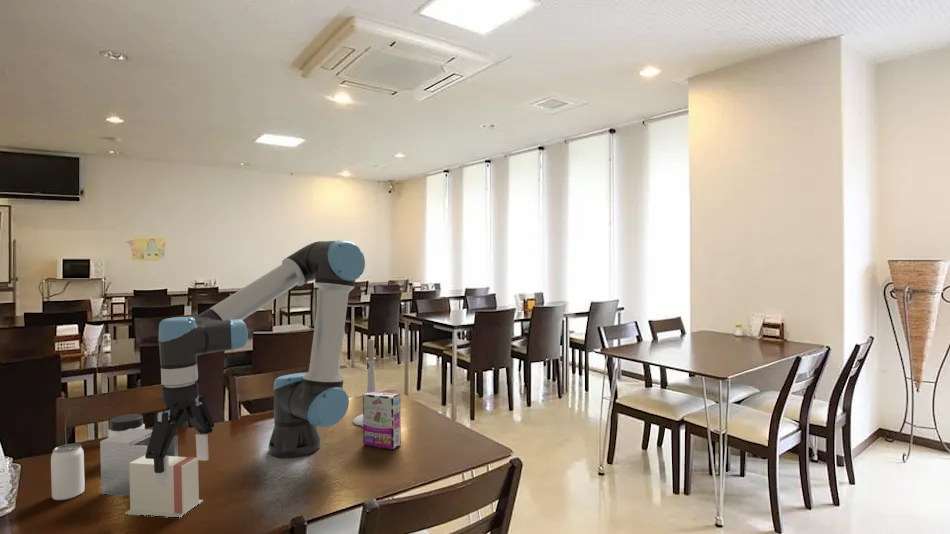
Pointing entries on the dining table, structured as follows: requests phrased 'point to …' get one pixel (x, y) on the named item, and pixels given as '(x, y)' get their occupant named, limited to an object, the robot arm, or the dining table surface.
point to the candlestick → (371, 381)
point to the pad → (157, 512)
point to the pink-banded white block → (164, 498)
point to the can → (67, 471)
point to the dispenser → (125, 458)
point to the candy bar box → (381, 420)
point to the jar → (125, 423)
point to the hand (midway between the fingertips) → (184, 471)
